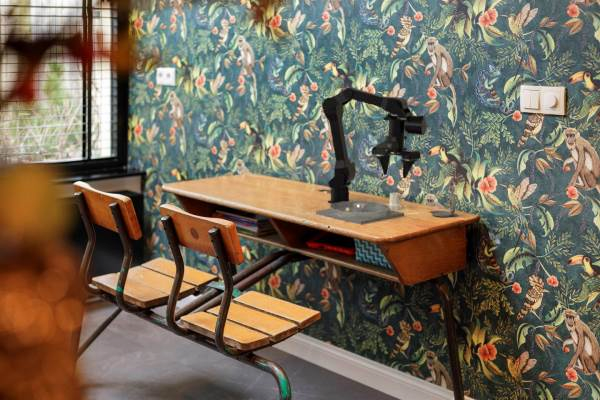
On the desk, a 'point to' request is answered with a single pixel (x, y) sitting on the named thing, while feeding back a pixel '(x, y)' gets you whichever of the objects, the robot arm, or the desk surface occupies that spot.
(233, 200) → the desk surface
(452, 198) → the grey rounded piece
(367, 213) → the grey flat ring
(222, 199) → the desk surface
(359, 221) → the tray
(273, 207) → the desk surface
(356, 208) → the sun gear
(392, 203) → the gear
